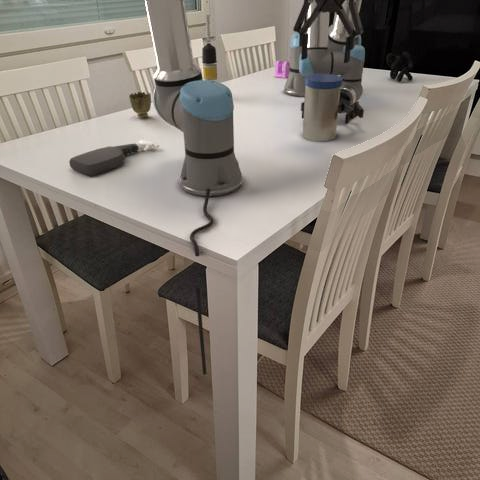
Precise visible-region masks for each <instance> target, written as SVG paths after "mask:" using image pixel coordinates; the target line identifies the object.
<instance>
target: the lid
mask: <svg viewBox="0 0 480 480" xmlns="http://www.w3.org/2000/svg"><path fill="white" fill-rule="evenodd" d="M342 82H343V78H342V77H341V76H340V75H332V74H312V75H308V76H306V77H305V80H304V84H305V85H306V86H308V87H312V88H319V89H330V88H337V87H340V86H342Z"/></svg>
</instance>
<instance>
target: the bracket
mask: <svg viewBox="0 0 480 480" xmlns="http://www.w3.org/2000/svg"><path fill="white" fill-rule="evenodd" d="M274 66H275V67H274V69H275V70H274V77H276V78H284V79H287V78H288V75H289V69H290V60H289V61H288V60H285V61H284V62H283V60H280V59H279V60H276V61H275V65H274Z"/></svg>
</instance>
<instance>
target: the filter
mask: <svg viewBox="0 0 480 480" xmlns="http://www.w3.org/2000/svg"><path fill="white" fill-rule="evenodd" d="M210 17H211V14H204V18H205V27H206V29H205V30H206V31H205V33H206V39H207V40H206V42H207V43H206V45H204V46H202V49H201V50H202V51H201V52H202V54H201V55H202V57H201V58H202V61H201V63H202V71H203V72H202V76H203V80H207V81H212V82H216V80H218V64H216V63H218V61H217V48H216V47H215V46H214V45H212V43H210V42H211V40H210V39H211V31H210V29H211V28H210Z"/></svg>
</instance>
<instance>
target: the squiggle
mask: <svg viewBox="0 0 480 480" xmlns="http://www.w3.org/2000/svg"><path fill="white" fill-rule="evenodd" d="M401 57H402V59H401ZM391 59H392V60H391ZM393 60H394V61H393ZM385 61H386V64H387V67H390V68H391V70H390V72H389V78H390V79H391V80H395V79H396V81H397V82H399V83H400V82H402V81H403V79H404V76H406V78H407V80H408V81H412V80H413V79H414V77H413V75H412V74H411V73H410V72H409V71H410V70H412V69H413V68H414V64H413V61H412V57H411V54H410V53H409V52H408V51H403V53H402V54H401V55H396V54H394V53H392V52H390V53H387V55H386V57H385ZM406 62H407V65H408V66H407V67H405V66H404V65H405V64H406ZM400 70H401V71H400Z"/></svg>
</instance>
